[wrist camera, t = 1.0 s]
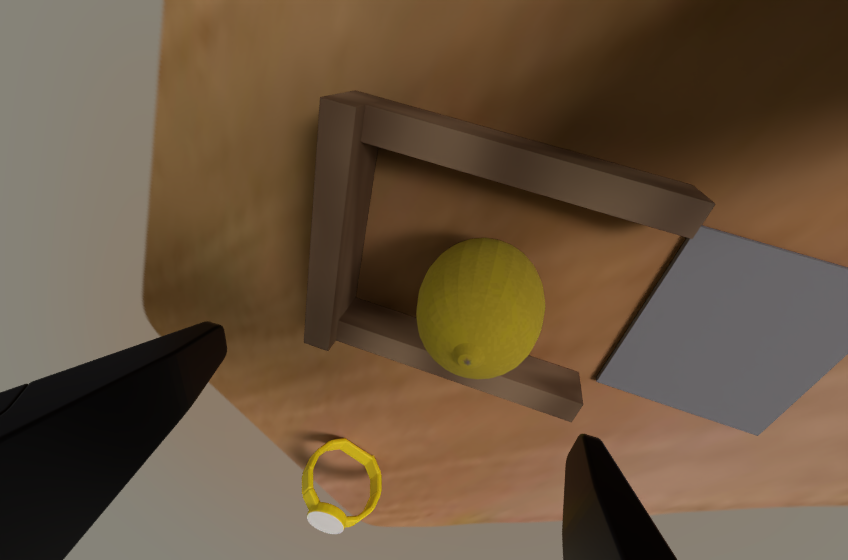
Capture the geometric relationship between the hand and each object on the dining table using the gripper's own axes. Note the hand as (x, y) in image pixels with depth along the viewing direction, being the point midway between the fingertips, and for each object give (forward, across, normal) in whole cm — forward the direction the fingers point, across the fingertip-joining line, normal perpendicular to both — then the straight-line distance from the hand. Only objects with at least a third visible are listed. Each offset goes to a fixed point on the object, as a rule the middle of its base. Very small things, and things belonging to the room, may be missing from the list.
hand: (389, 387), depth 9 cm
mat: (+12, -14, +3) cm, 19 cm away
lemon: (+12, -2, +2) cm, 13 cm away
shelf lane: (+12, -2, +2) cm, 13 cm away
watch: (+12, +5, +22) cm, 26 cm away
